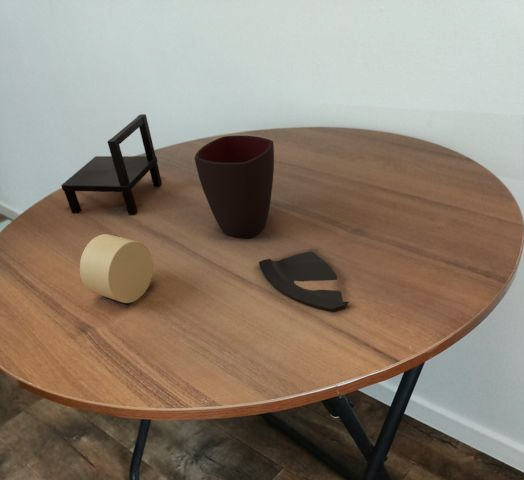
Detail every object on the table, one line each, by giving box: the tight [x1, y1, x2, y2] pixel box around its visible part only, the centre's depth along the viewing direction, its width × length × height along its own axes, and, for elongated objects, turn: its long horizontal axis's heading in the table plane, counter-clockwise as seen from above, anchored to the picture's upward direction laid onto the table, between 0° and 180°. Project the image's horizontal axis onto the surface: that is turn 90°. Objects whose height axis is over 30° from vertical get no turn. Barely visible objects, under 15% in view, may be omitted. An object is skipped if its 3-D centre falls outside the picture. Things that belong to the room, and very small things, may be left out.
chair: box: [60, 113, 163, 216], centre depth 87 cm, size 12×12×12 cm
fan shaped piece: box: [258, 251, 350, 313], centre depth 64 cm, size 8×14×2 cm, turn 21°
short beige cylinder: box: [79, 233, 154, 308], centre depth 65 cm, size 5×8×8 cm, turn 149°
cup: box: [194, 135, 275, 239], centre depth 76 cm, size 10×14×12 cm
